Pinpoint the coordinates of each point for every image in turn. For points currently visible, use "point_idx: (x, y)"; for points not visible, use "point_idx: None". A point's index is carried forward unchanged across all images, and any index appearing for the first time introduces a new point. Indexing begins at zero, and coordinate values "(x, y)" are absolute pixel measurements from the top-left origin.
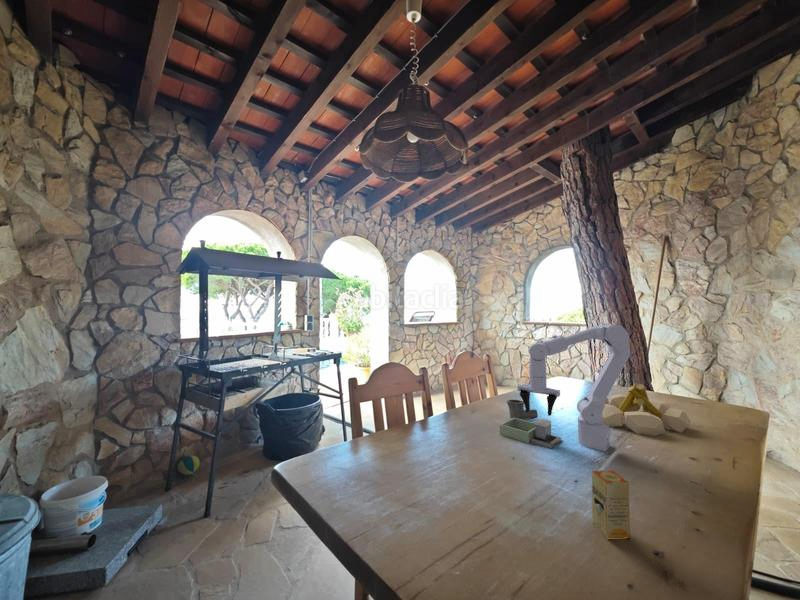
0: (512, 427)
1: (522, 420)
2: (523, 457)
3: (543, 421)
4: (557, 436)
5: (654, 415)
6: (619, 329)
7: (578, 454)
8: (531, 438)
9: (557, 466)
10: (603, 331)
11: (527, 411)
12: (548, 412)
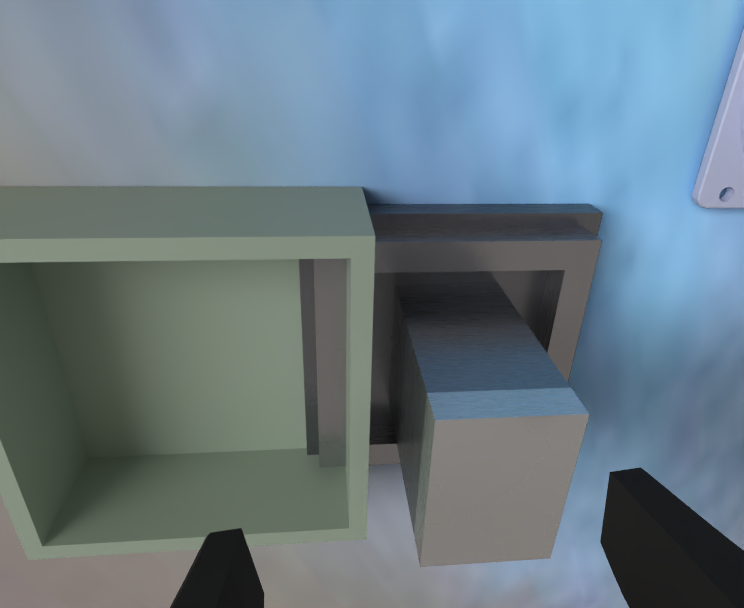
0: (19, 276)
1: (78, 261)
2: (409, 588)
3: (505, 501)
4: (563, 243)
5: None
6: None
7: (719, 332)
8: (370, 453)
9: (602, 555)
10: None
11: (255, 600)
12: (643, 606)
